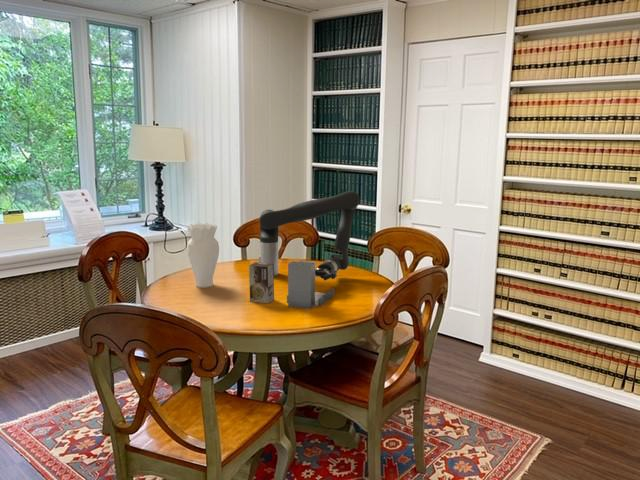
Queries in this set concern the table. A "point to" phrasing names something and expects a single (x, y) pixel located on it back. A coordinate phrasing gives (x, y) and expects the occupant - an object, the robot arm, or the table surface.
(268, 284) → the coffee box
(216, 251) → the vase
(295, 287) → the grey metal bracket
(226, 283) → the table surface
